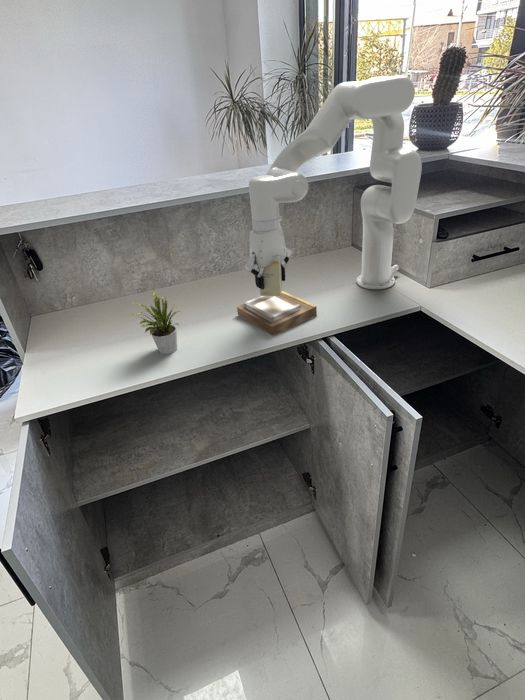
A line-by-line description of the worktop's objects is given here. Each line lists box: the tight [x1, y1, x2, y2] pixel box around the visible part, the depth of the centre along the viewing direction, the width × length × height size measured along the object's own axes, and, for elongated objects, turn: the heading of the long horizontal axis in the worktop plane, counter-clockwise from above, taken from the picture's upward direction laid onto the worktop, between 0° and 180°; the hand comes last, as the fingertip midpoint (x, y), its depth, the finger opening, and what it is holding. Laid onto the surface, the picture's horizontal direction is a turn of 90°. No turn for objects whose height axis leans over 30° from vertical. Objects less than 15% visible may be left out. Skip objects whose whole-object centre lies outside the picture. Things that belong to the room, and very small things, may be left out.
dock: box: [236, 289, 318, 337], centre depth 134 cm, size 17×18×4 cm
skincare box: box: [258, 255, 283, 296], centre depth 127 cm, size 6×4×12 cm
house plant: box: [131, 291, 181, 355], centre depth 120 cm, size 14×14×16 cm
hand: (270, 283), depth 129 cm, fingers closed on skincare box, 7 cm apart
